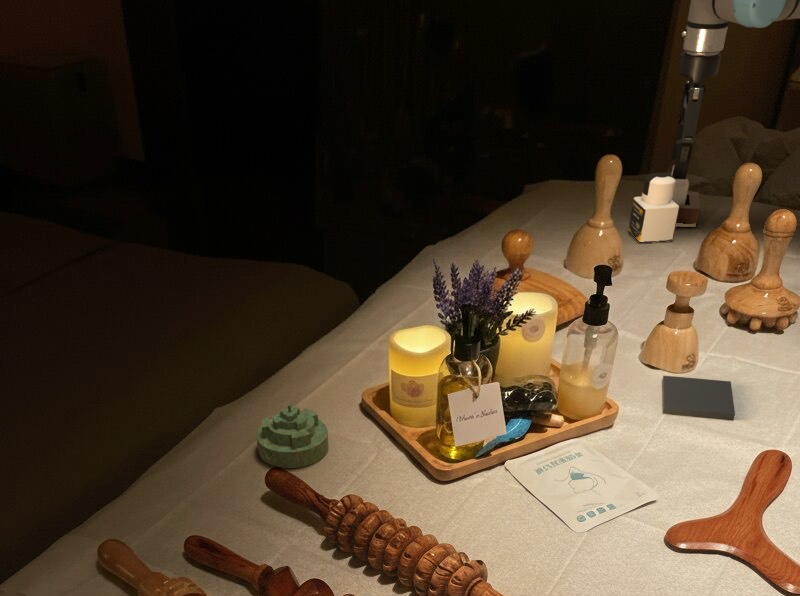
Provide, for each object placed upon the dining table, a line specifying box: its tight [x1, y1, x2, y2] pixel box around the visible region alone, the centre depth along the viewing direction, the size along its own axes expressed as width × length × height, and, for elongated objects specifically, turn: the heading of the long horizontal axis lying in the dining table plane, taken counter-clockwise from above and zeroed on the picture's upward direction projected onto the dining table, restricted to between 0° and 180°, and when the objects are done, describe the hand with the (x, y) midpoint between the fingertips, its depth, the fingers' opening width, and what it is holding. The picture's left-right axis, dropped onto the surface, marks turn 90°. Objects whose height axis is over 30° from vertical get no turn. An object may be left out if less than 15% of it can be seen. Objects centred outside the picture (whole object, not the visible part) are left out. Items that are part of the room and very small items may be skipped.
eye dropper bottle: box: [670, 164, 690, 205], centre depth 186 cm, size 4×6×12 cm
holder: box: [676, 191, 701, 225], centre depth 188 cm, size 11×11×4 cm
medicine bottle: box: [627, 172, 679, 243], centre depth 178 cm, size 7×7×12 cm
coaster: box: [661, 375, 736, 421], centre depth 131 cm, size 10×10×1 cm
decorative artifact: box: [256, 403, 329, 469], centre depth 122 cm, size 10×7×10 cm
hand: (678, 168), depth 183 cm, fingers open, 13 cm apart
